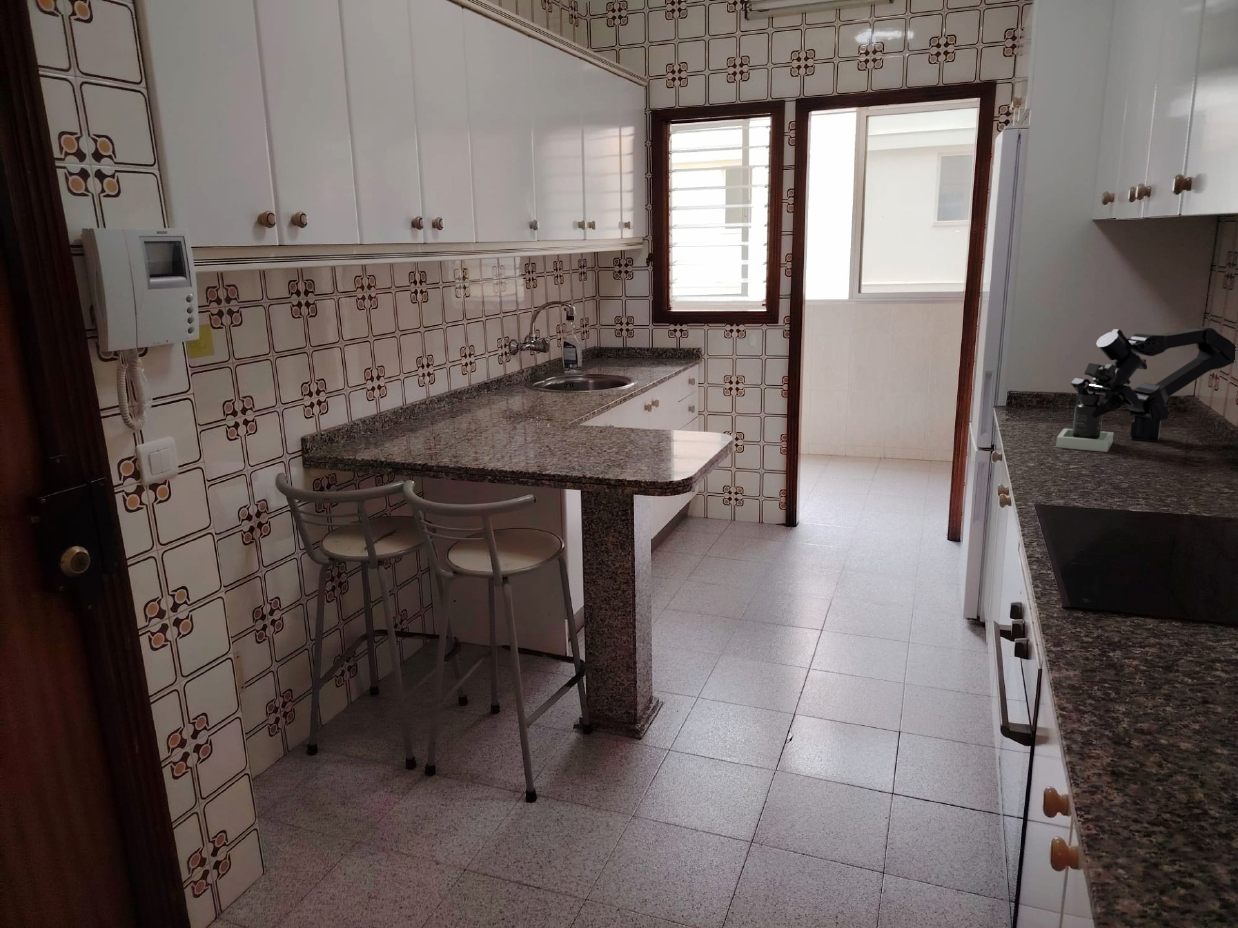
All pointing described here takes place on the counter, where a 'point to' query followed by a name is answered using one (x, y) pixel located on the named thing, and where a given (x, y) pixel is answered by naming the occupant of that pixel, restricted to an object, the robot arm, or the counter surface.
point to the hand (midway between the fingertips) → (1083, 414)
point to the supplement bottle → (1087, 417)
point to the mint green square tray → (1084, 441)
